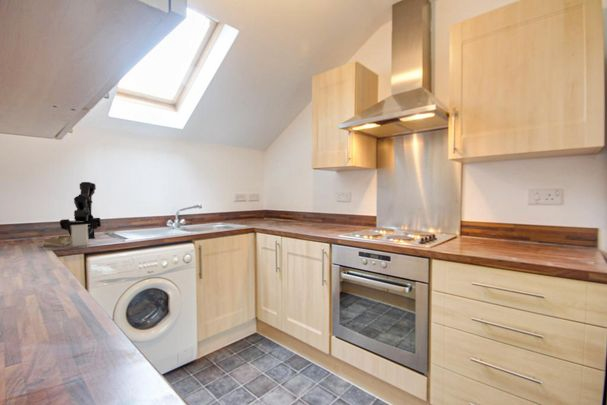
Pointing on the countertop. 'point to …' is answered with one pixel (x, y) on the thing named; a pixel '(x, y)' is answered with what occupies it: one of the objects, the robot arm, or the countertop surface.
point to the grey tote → (80, 235)
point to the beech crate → (57, 241)
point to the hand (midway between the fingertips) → (79, 234)
